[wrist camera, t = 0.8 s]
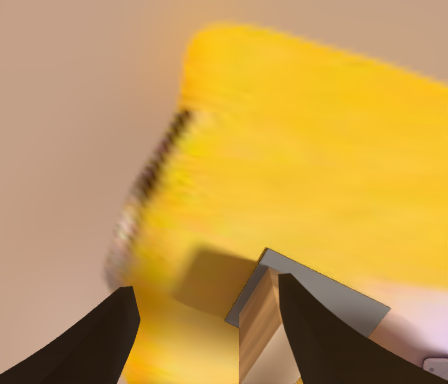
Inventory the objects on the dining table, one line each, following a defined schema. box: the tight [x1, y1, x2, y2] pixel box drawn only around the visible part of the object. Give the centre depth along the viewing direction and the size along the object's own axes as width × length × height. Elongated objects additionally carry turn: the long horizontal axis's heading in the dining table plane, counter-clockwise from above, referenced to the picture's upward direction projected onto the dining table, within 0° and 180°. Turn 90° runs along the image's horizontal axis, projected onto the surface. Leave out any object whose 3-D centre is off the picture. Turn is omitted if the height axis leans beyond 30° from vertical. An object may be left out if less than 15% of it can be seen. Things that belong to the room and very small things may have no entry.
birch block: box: [239, 267, 301, 384], centre depth 20 cm, size 3×6×7 cm, turn 154°
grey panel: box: [225, 248, 391, 338], centre depth 23 cm, size 13×9×1 cm
